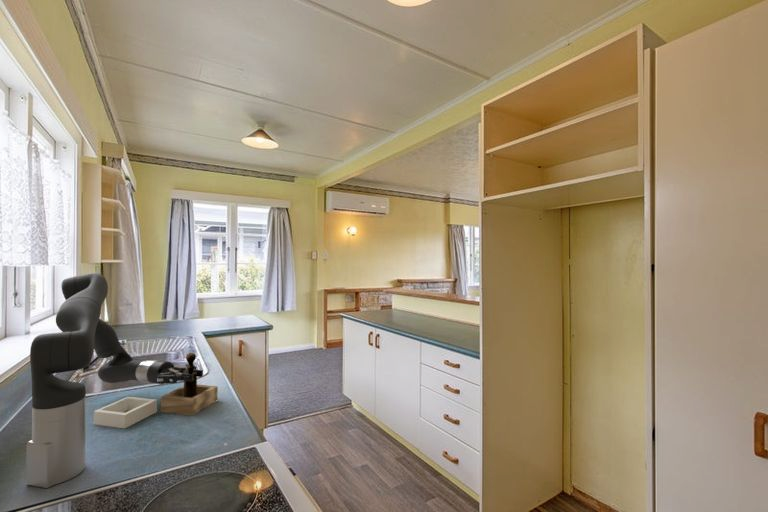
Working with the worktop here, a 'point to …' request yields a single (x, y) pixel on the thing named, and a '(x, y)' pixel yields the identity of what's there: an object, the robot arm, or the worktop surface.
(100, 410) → the tray
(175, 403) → the socket
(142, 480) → the worktop surface
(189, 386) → the dark pepper mill
